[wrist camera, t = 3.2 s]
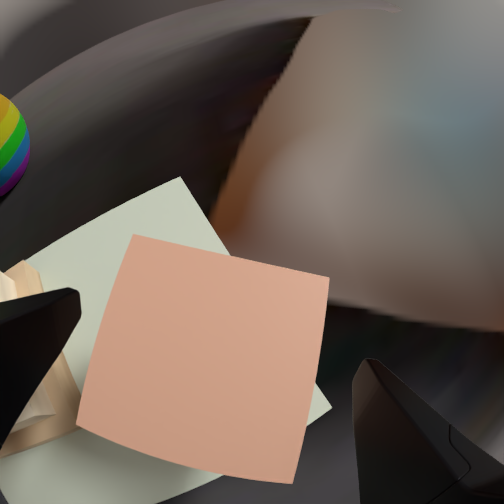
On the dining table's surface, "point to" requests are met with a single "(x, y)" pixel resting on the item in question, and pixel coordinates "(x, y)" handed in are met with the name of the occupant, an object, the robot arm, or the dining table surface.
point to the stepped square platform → (51, 387)
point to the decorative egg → (12, 145)
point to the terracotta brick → (206, 360)
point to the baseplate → (80, 350)
